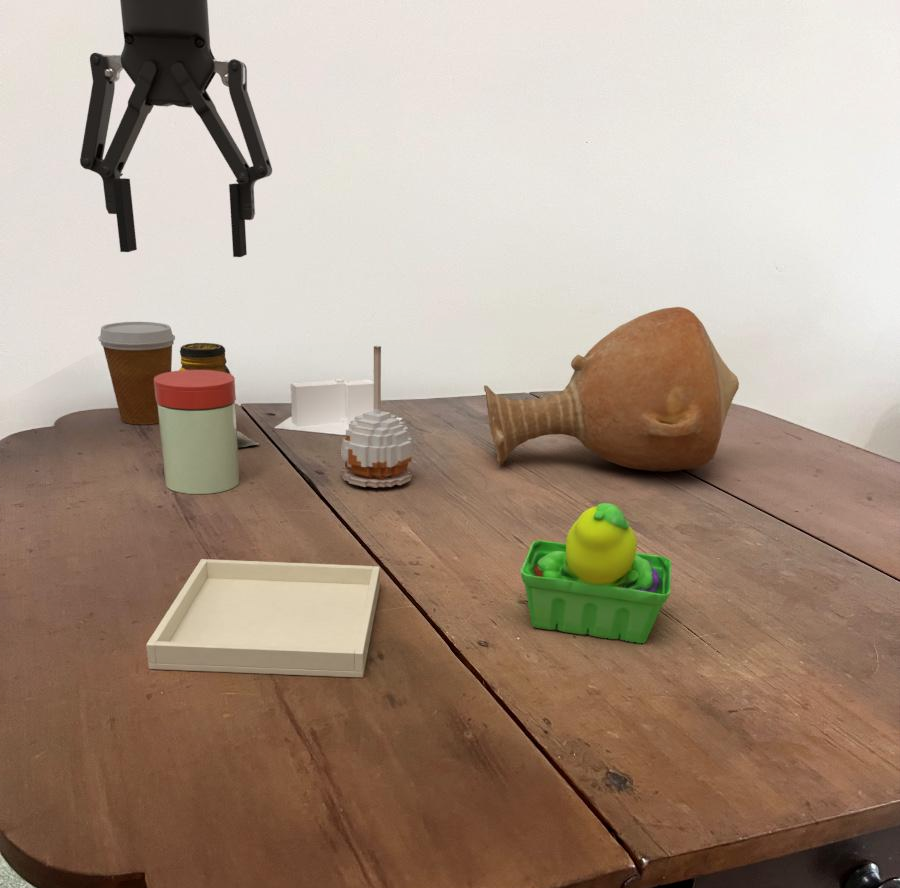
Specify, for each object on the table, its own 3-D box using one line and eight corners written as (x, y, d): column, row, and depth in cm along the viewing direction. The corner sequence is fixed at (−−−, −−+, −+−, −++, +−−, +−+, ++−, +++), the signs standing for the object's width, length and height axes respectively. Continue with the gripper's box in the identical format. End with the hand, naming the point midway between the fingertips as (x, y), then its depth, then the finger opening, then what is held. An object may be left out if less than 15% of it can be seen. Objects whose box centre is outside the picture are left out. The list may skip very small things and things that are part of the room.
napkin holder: (272, 428, 122) (271, 385, 120) (301, 408, 132) (300, 368, 130) (382, 438, 120) (382, 395, 117) (403, 417, 130) (403, 377, 127)
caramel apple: (367, 466, 109) (368, 337, 103) (423, 478, 106) (427, 345, 99) (328, 483, 103) (325, 346, 96) (386, 496, 100) (387, 356, 93)
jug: (783, 400, 96) (499, 427, 95) (736, 499, 113) (495, 523, 112) (736, 263, 105) (477, 287, 104) (699, 374, 122) (475, 395, 121)
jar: (155, 492, 98) (145, 389, 93) (176, 469, 105) (167, 373, 100) (230, 495, 98) (224, 393, 93) (246, 472, 105) (240, 376, 100)
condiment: (174, 439, 116) (165, 342, 110) (238, 432, 120) (232, 338, 115) (193, 455, 110) (185, 353, 105) (260, 446, 114) (255, 348, 109)
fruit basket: (663, 611, 77) (683, 483, 72) (660, 662, 69) (683, 521, 64) (528, 593, 79) (539, 467, 74) (511, 640, 71) (522, 503, 66)
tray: (148, 669, 65) (145, 644, 64) (202, 580, 79) (200, 558, 78) (362, 677, 65) (362, 653, 64) (379, 587, 79) (380, 566, 78)
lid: (144, 407, 94) (142, 385, 93) (167, 389, 101) (165, 368, 100) (225, 411, 94) (224, 388, 93) (243, 392, 101) (241, 371, 100)
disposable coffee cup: (93, 418, 123) (81, 326, 117) (151, 406, 130) (142, 318, 125) (139, 432, 118) (129, 336, 113) (197, 418, 125) (189, 327, 120)
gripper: (15, -26, 78) (53, 251, 88) (284, -13, 78) (293, 262, 88) (50, -12, 85) (82, 244, 94) (298, 0, 85) (305, 254, 95)
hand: (184, 253), depth 91 cm, fingers open, 10 cm apart
